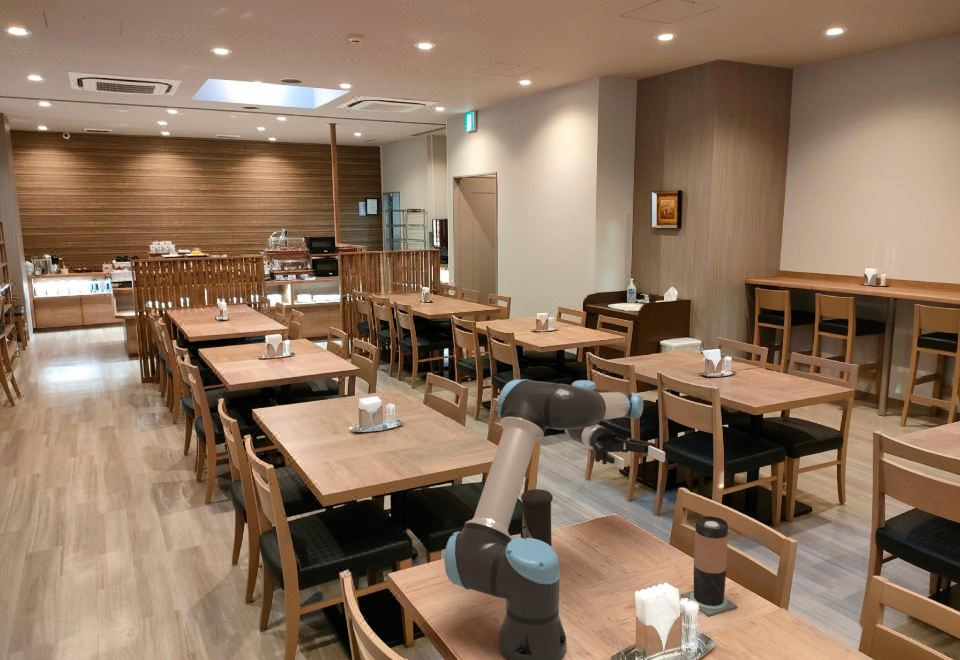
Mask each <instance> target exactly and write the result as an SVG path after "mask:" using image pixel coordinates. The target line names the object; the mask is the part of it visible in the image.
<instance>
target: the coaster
mask: <svg viewBox="0 0 960 660" xmlns="http://www.w3.org/2000/svg"><path fill="white" fill-rule="evenodd" d="M683 597H684V598H688V599H691V600H693V601H696V600H695V598H694V590H691V591H688V592H685V593H684V592H683V593H681V594H680V598H682V599H683ZM696 602H697V603H698V604H699V608H700V610H699V611H700V612H701V613H702V614H704V615H705V616H707V617H708V618H709V617H712V615H713V616H716V615H718V614H719V613H720V614H722V612H723V613H726V612H729V611H733V610H736V608H737V609H738V605H736V604H735V603H733V602H732V601H731V600H729V599H728V598H726V596H725V595H724V601H723V603H722V604H721V605H718V606H708V605H704V604H701V603H699V602H698V601H696ZM715 614H716V615H715ZM720 614H719V615H720Z"/></svg>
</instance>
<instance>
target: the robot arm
mask: <svg viewBox="0 0 960 660" xmlns="http://www.w3.org/2000/svg"><path fill="white" fill-rule="evenodd" d="M643 411H644V398H643V396H642V394H641V393H636V392H629V391H618V390H617V391H616V390H610V389H609V390H608V389H601V388H597V385H596V383H595V381H592V380H585V379H583V380H581V379H578V380H575V381H573V382H572V383H571V384H566V383H557V382H547V381H536V380H531V379H524V378H523V379H513V380H510V381H508V382H507V383H506V384H505V385H504V387H503V388H502V389H501V391H500V393H499V396H498V399H497V406H496V414H497V417H498V419H499V420H500V421H499V423H500V427H501V428H502V429H503V430H502V433H501V437H500V440H499V442H498V444H497V448H496V451H495V454H494V457H493V460H492V463H491V466H490V468H489V472H488V474H487V477H486V480H485V483H484V487H483V489H482V491H481V495H480V497H479V501H478V503H477V507H476V510H475V512H474V516H473V518H472V519H469V520H467V521H465V523H464V526H463V528H462V531H456V532H453V533H452V534H451V536H449V538H448V540H447V543H446V546H445V552H444V568H445V569H444V570H445V574H446V577H447V578H448V580H449V581H450V583H452V584H453V585H456V586H459V587H461V588H463V589H465V590H471V591H475V592H479V593H483V594H486V595H489V596H492V597H497V598H500V599H504V600H505V602H506V604H505V605H506V606H505V607H506V608H505V609H506V613H505V616H504V618H503V621H502V625H501V627H500V630H499V633H498V649H499V652H500V653H501V655H502V656H503V657H504V658H505V659H506V660H562V659H563V657H564V656H565V655H566V652H567V634H566V632H565V628H564V626H563V623H562V620H561V616H560V577H561V570H560V558H559V555H558V553H557V552H556V550H555V549H554V547H551V546H550V545H548V544H547V543H545V542H543V541H540V540H537V539H533V538H526V539H523V538H522V537H519V538H514V539H512V537H511V535H510V533H509V528H510V525H511V521H512V517H513V515H514V511H515V508H516V506H517V502H518V498H519V495H520V493H521V489H522V486H523V483H524V480H525V476H526V473H527V470H528V467H529V463H530V461H531V457H532V454H533V451H534V446H535V444H536V442H537V441H539V440H541V439H543V438H544V436H545V432H546V430H547V429H552V430H560V431H563V430H564V433H565V435H566V436H568V438H571V440H573V441H574V442H576V443H580V444H581V445H583V446H585V447H587V448H589V453H591V454H592V455H593V457H594V461H595V462H597V463H600V462H601V461H602V465H607V464H610V465H613V466H614V467H617V468H618V469H620V470H624V468H625V459H624V458H623V457H620V456H618V455H616V454H614V453H626V454H627V453H628V452H632V453H638V454H639V453H640V454H645V455H647V456H649V457H650V458H653V459H654V460H655V459H656V460H657V461H659V462H662V463H665V462H666V452H665V451H663V450H661V449H660V448H657V443H655V442H652V441H651V442H649V441H646V440H641V439H635V438H632V437H630V436H626V437H625V439H624V438H623V439H622V438H620V437H618V436H617V435H616V433H615V432H614V431H613V430H611V429H609V428H606V427H605V426H602V425H600V423H601V422H602V421H606V420H612V419H613V420H614V419H617V418H627V419H628V418H629V419H639V418H640V417H641V416H642V414H643ZM624 446H625V447H624Z"/></svg>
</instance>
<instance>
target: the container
mask: <svg viewBox="0 0 960 660" xmlns="http://www.w3.org/2000/svg"><path fill="white" fill-rule="evenodd" d="M520 499H521V502H522V515H521V518H522V520H521V523H522V524H521V528H522V529H521V530H522V531H521V538H523V539H526V538H533V539H537V540H540V541H543V542H545V543H547V544H548V545H550V546H551V547H552V545H553V543H552V501H553V494H552V492H550V491H549V490H548V491H547V490H546V489H540V488H538V489H537V488H536V489H533V488H532V489H529V490H526V491H524V492H523V493H522V494H521V496H520ZM552 548H553V547H552Z"/></svg>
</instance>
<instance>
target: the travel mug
mask: <svg viewBox="0 0 960 660" xmlns="http://www.w3.org/2000/svg"><path fill="white" fill-rule="evenodd" d="M728 526H729V525H728V522H727V521H726V520H725V519H723V518H720V517H716V516H710V515H709V516H708V515H705V516H702V518H700V519H698V518H696V520H695V533H694V534H695V535H694V552H693V591H694V598H695V600H696V601H698V602H699V603H701V604H704V605H708V606H718V605H721V604H722V603H723V601H724V596H725V589H726V578H727V577H726V576H727V567H728V566H727V564H728V562H727V561H728V559H727V558H728V534H729V531H728V530H729V527H728Z"/></svg>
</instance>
